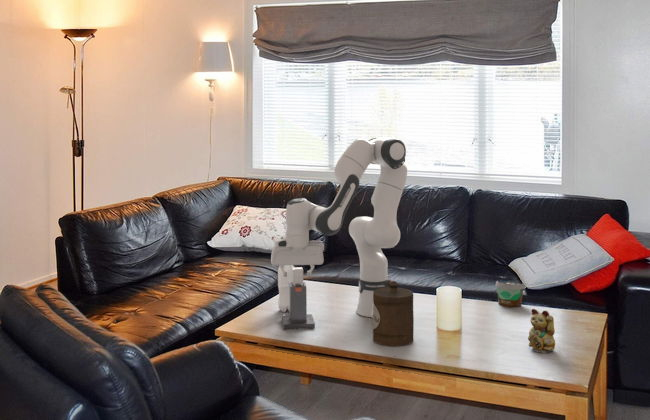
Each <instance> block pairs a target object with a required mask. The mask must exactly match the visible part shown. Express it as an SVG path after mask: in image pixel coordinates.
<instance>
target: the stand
mask: <svg viewBox="0 0 650 420" xmlns="http://www.w3.org/2000/svg"><path fill="white" fill-rule="evenodd" d="M307 305H308V304H307V284H306V282H305V281H303V286H301V284H297V285H296V286H292V283H289V311H288V312H289V314H287V315H285V314H284V315H281V323H282V328H283V331H284V330H305V329H306V330H307V329H316V323H315V319H314V317H313V314H310V313H309V314H308V313H307Z"/></svg>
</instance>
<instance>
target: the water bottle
mask: <svg viewBox="0 0 650 420" xmlns="http://www.w3.org/2000/svg"><path fill="white" fill-rule="evenodd" d="M278 266H279V267H278V269H277V287H278V300H277V303H278V304H277V305H278V309H279V311H281V312H283V313H286V312H287V311H288V312H289V283H292V268H293V267H295V265H284V268H283V269H284V271H287V276H285V277H283V271H282V270H281V268H280V265H278Z"/></svg>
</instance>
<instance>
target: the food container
mask: <svg viewBox="0 0 650 420" xmlns="http://www.w3.org/2000/svg"><path fill="white" fill-rule="evenodd" d="M495 287H496V290H497V302H498V305H499V306H500V307H503V308H509V309H510V308H511V309H512V308H520V307H521V306H522V301H523V294H524V289H525V288H526V284H525V282H523V283H519V284H518V283H514V282H500V281H498V280H497V281H496V282H495Z"/></svg>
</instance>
